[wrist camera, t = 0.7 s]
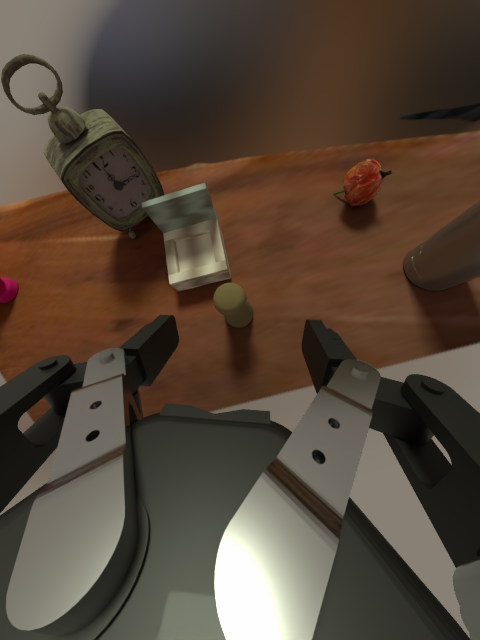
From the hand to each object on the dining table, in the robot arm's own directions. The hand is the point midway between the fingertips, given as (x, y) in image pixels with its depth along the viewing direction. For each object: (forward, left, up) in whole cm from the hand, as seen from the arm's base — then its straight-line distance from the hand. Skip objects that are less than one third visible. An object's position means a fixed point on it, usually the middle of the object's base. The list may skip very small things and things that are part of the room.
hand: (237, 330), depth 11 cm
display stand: (+8, -22, -25) cm, 34 cm away
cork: (+2, -8, -25) cm, 26 cm away
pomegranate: (-27, -27, -25) cm, 46 cm away
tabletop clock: (+20, -38, -25) cm, 50 cm away
